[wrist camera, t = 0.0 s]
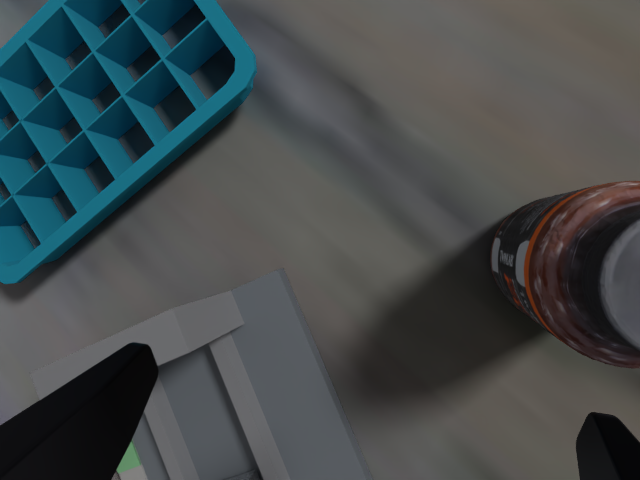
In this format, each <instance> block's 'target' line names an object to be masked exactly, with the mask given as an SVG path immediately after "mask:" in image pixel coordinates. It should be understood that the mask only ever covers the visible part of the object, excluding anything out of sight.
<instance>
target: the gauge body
mask: <svg viewBox="0 0 640 480" xmlns="http://www.w3.org/2000/svg"><path fill="white" fill-rule="evenodd" d="M132 342H137V343H143V344H148V345H149V346H150V347H151V349H152V352H153V355H154V357H155V360H156V362H157V365H158V369H159V373H158V378H157V381H156V383H155V386H154V388H153V391H152V393H151V395H150V398H149V400H148V403H147V405H146V408H145V410H144V412H143V415H142V417H141V420H140V422H139V424H138V427H137V429H136V432H135V434H134V436H133V438H132V441H131V443H130V445H129V447H128V449H127V451H126V453H125V455H124V456H123V458H122V460H121V462H120V464H119V466H118V468H117V472H118V473H119V475H120V478H121V480H225V479H228V478H231V477H234V476H237V475H240V474H243V473H246V472H249V471H251V470H254V469H256V470H257V473H258V475H259V478H260V480H373V478H372V476H371V474H370V471H369V469H368V467H367V464H366V462H365V460H364V457H363V455H362V453H361V450H360V448H359V445H358V443H357V441H356V438H355V436H354V434H353V431H352V429H351V427H350V424H349V422H348V420H347V417H346V415H345V413H344V410H343V408H342V405H341V403H340V401H339V398H338V396H337V394H336V391H335V389H334V387H333V384H332V382H331V380H330V377H329V375H328V373H327V370H326V368H325V365H324V363H323V361H322V358H321V356H320V354H319V351H318V349H317V347H316V344H315V342H314V340H313V337H312V335H311V333H310V330H309V328H308V325H307V323H306V321H305V318H304V316H303V314H302V311H301V309H300V307H299V304H298V302H297V300H296V297H295V295H294V293H293V290H292V288H291V285H290V283H289V281H288V278H287V276H286V274H285V271H284V269H283V268H282V269H278V270H276V271H273V272H271V273H269V274H267V275H264V276H262V277H260V278H258V279H255V280H253V281H251V282H249V283H246V284H244V285H242V286H240V287H238V288H235V289H233V290H231V291H228V292H224V293H221V294H218V295H214V296H211V297H208V298H205V299H201V300H198V301H195V302H191V303H188V304H185V305H182V306H178V307H175V308H172V309H170V310H167V311H165V312H163V313H161V314H159V315H156V316H154V317H152V318H150V319H148V320H145V321H143V322H141V323H139V324H136V325H134V326H132V327H130V328H128V329H125V330H123V331H121V332H119V333H117V334H114V335H112V336H110V337H108V338H105V339H103V340H101V341H99V342H97V343H94V344H92V345H90V346H88V347H86V348H83V349H81V350H79V351H77V352H75V353H72V354H70V355H68V356H66V357H63V358H61V359H59V360H57V361H55V362H52V363H50V364H48V365H46V366H44V367H41V368H39V369H37V370H35V371H32V372H30V375H31V378H32V381H33V383H34V386H35V389H36V391H37V394H38V397H39V399H40V400H41V399H42V398H44V397H46V396H47V395H49V394H50V393H52V392H53V391H55V390H57V389H58V388H60V387H61V386H63V385H64V384H66V383H67V382H69V381H71V380H72V379H74V378H75V377H77V376H78V375H80V374H82V373H83V372H85V371H86V370H88V369H89V368H91V367H92V366H94V365H96V364H97V363H99V362H100V361H102V360H103V359H105V358H107V357H108V356H110V355H111V354H113V353H114V352H116V351H117V350H119V349H121V348H122V347H124V346H125V345H127V344H129V343H132Z"/></svg>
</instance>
